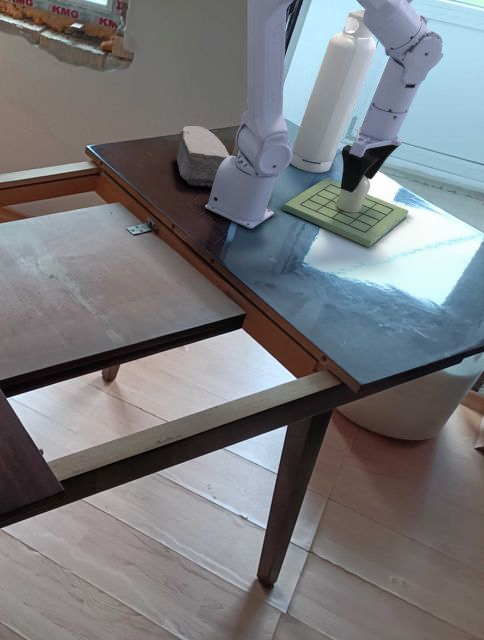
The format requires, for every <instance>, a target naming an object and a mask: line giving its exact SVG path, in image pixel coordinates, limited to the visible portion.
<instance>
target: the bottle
mask: <svg viewBox="0 0 484 640" xmlns="http://www.w3.org/2000/svg"><path fill="white" fill-rule="evenodd" d="M364 12H365V9H351V10H349V12H348V16H347V18H346V21H345V24H344V27H343V30H342V31H340V32H338V33H336V34H334V35H333V36H331V38H330V39H329V41H328V43H327V47H326V49H325V52H324V55H323V58H322V61H321V64H320V67H319V69H318V73H317V76H316V79H315V81H314V84H313V86H312V87H313V88H312V91H311V93H310V96H309V99H308V103H307V105H306V108H305V111H304V114H303V116H302V120H301V123H300V126H299V129H298V132H297V134H296V137H295V139H294V143H293V145H292V148H293V157H292V160H291V162H290V164H291V165H292V166H294V167H295V168H297V169H298V170H299V169H300V170H302V171H305V172H310V173H325V172H328V171H330V169H331V167H332V165H333V163H334V158H335V157H336V154H337V152H338V149H339V147H340V145H341V141H342V139H343V136H344V134H345V132H346V129H347V126H348V123H349V121H350V118H351V116H352V113H353V111H354V108H355V106H356V103H357V101H358V98H359V96H360V93H361V89H362V87H363V85H364V82H365V80H366V78H367V75H368V72H369V69H370V66H371V64H372V61H373V60H374V56H375V54H376V51H377V43H376V41H375V40H374V39H373V37H372V35H373V34H372V33H371V32H370V31H369V29H368V28H367V27H366V26H365V25H364V23H363V16H364Z"/></svg>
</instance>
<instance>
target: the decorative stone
mask: <svg viewBox="0 0 484 640" xmlns="http://www.w3.org/2000/svg"><path fill="white" fill-rule="evenodd" d="M228 156H231V155H230V153H229V151H228V150H227V147H226V146H225V145H224V144H223V142H222V141H221V140H220V138H218V137H217V136H216V135H215V134H214V133H213V132H212V131H211V130H209V129H206V128H205V127H204V126H199V125H187V126H184V127H183V128H182V129H181V131H180V132H179V142H178V150H177V155H176V163H177V166H178V172H179V175H180V177H181V179H182V180H183V181H185V182H186V183H187V184H188V185H189V186H191V187H196V188H203V189H212V186H213V183H214V179H215V175H216V173H217V170H218V168H219V166H220V165H221V163H222V162H223V161H224V159H226V158H227V157H228Z"/></svg>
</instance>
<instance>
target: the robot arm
mask: <svg viewBox="0 0 484 640" xmlns="http://www.w3.org/2000/svg"><path fill="white" fill-rule="evenodd" d="M294 1H295V0H247V12H246V13H247V18H246V19H247V29H246V30H247V33H246V36H247V37H246V38H247V41H246V42H247V44H246V45H247V46H246V47H247V48H246V49H247V52H246V53H247V54H246V55H247V59H246V60H247V61H246V63H247V65H246V66H247V68H246V69H247V71H246V72H247V75H246V76H247V79H246V80H247V81H246V82H247V83H246V84H247V85H246V86H247V87H246V88H247V90H246V93H247V94H246V95H247V96H246V98H247V100H246V103H247V111H246V112H244V111H243V113H242V114H241V115H240V125H239V127H238V129H237V132H236V134H235V138H234V139H235V142H236V145H237V147H238V149H239V152H238V155H237V157H236V156H232V155H230V156H228V157H227V158H226V159H224V161H223V162H222V163H221V165H220V166H219V168H218V170H217V173H216V175H215V179H214V183H213V186H212V188H211V190H210V191H211V192H210V194H209V198H208V202H207V204H205V206H204V208H205V209H207V210H208V211H211V212H213V213H214V214H217V215H219V216H221V217H224V218H225V219H227V220H230V221H232V222H234V223H236V224H239V225H241V226H243V227H245V228H247V229H249V230H251V229H254V228H255V227H257V226H259V225H260V224H262V223H263V222H265V221H266V220H268V219H269V218H271V217H272V216H274V214H275V212H274V211H273V210H271V209H269V208H268V205H269V202H270V199H271V196H272V193H273V191H274V188H275V185H276V182H277V179H278V177H279V175H280V174H281V173H282V172H283V171H285V170H286V169H287V168H288V167H289V165H290V164H291V163H290V162H291V160H292V157H293V145H292V144H291V143H290V141H289V129H288V126H287V123H286V120H285V116H284V113H283V110H284V109H283V108H284V85H285V84H284V83H285V59H286V58H285V57H286V55H285V54H286V30H287V10H288V7H290V5H291V4H292V3H293V2H294ZM413 1H414V0H356V2H357V3H358V4H359V5H360V6H361V7H362V8H363V10H365V12H364V16H363V23H364V25H365V26H366V27H367V28H368V29H369V31H370V32H371V33H372V34H371V35H373V36H374V38H376V40H377V41H378V42H379V43H380V44H381V45H382V47H383V48H384V54H385V56H387V57H389V58H388V59H387V62H386V65H385V67H384V70H383V71H382V74H381V77H380V79H379V81H378V85H377V87H376V88H375V91H374V94H373V96H372V99H371V100H370V104H369V106H368V109H367V111H366V113H365V116H364V119H363V121H362V123H361V125H360V126H359V127H358V129H357V132H356V137H355V141H353V142H352V145H350V144H346V145H344V146H343V147H342V149H341V157H342V174H341V181H340V184H341V189H344V190H346V191H348V192H351V193H352V192H353V191H354V190H355V189H356V188H357V186H358V185H359V183H360V181H361V180H362V178H363V176H366V177H367V178H368V179H369V181H371V180H373V178H374V177H375V176H376V175H377V173H378V172H379V171H380V169H381V167H382V166H383V165H384V163H385V162H386V160H387V159H388V158H389V157H390V156H391V155H392V154H393V153H394V151H395V150H397V149H398V148H399V147H400V146H402V144H403V143H404V138H401V137H400V136H399V132H400V130H401V128H402V126H403V124H404V122H405V119H406V116H407V115H408V112H409V110H410V108H411V106H412V104H413V101H414V99H415V98H416V95H417V92H418V91H419V88H420V85H421V84H422V83H423V82H424V81H425V80H426V78H427V76H428V74H429V72H430V71H431V70H432V69H434V68H435V67H436V66H437V65H438V64H439V62H440V61H441V60H442V59H443V57H444V55H445V54H444V52H443V43H444V42H443V38H442V37H441V35H440V34H438V33H437V32H436V31H434V30H432V29H429V28H428V25H427V24H428V23H429V19H428V18H427V17H426V16H424V15H423V14H421V15H419V13H418V12H417V11H416V10H415V8H414V7H413V5H411V3H412V2H413Z"/></svg>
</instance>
